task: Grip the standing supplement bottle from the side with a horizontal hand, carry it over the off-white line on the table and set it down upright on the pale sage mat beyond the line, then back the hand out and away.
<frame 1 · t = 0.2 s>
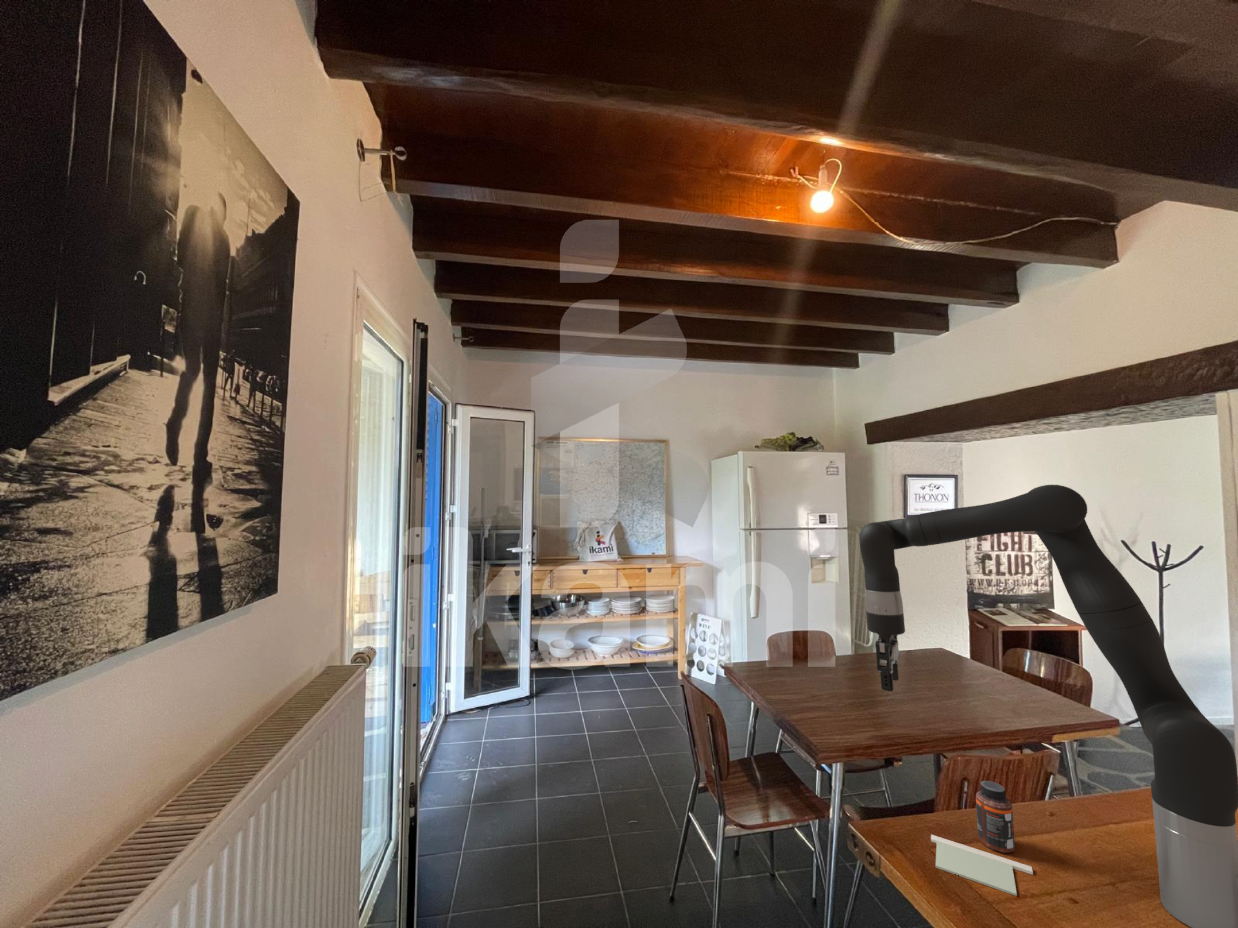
hand: (890, 684, 108), 29 cm above the table, tool pointing down, fingers open, 8 cm apart
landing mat: (980, 864, 93), on the table
supplement bottle: (996, 845, 98), on the table
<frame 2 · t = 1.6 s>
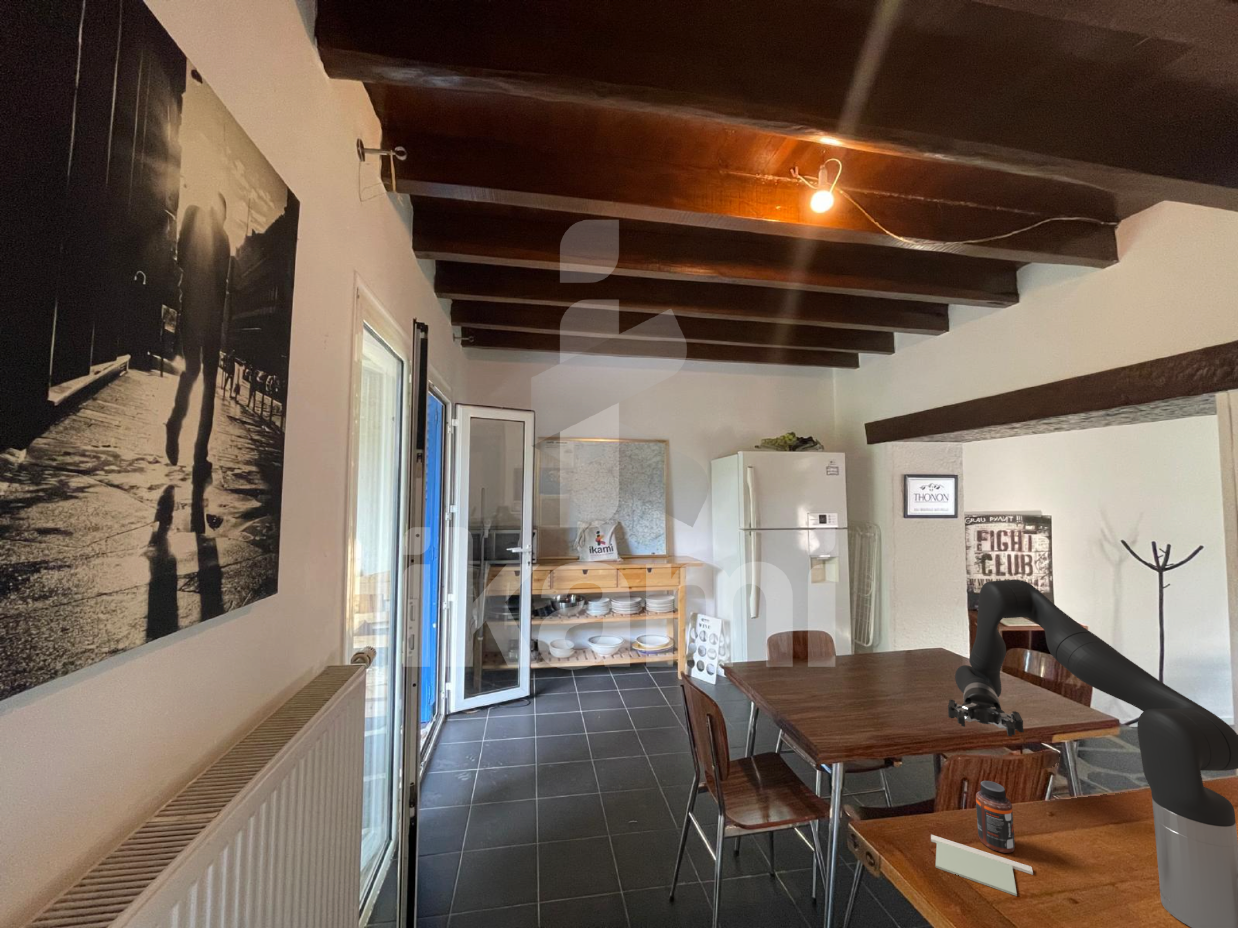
hand: (986, 726, 111), 18 cm above the table, tool horizontal, fingers open, 8 cm apart
nothing on the table moved.
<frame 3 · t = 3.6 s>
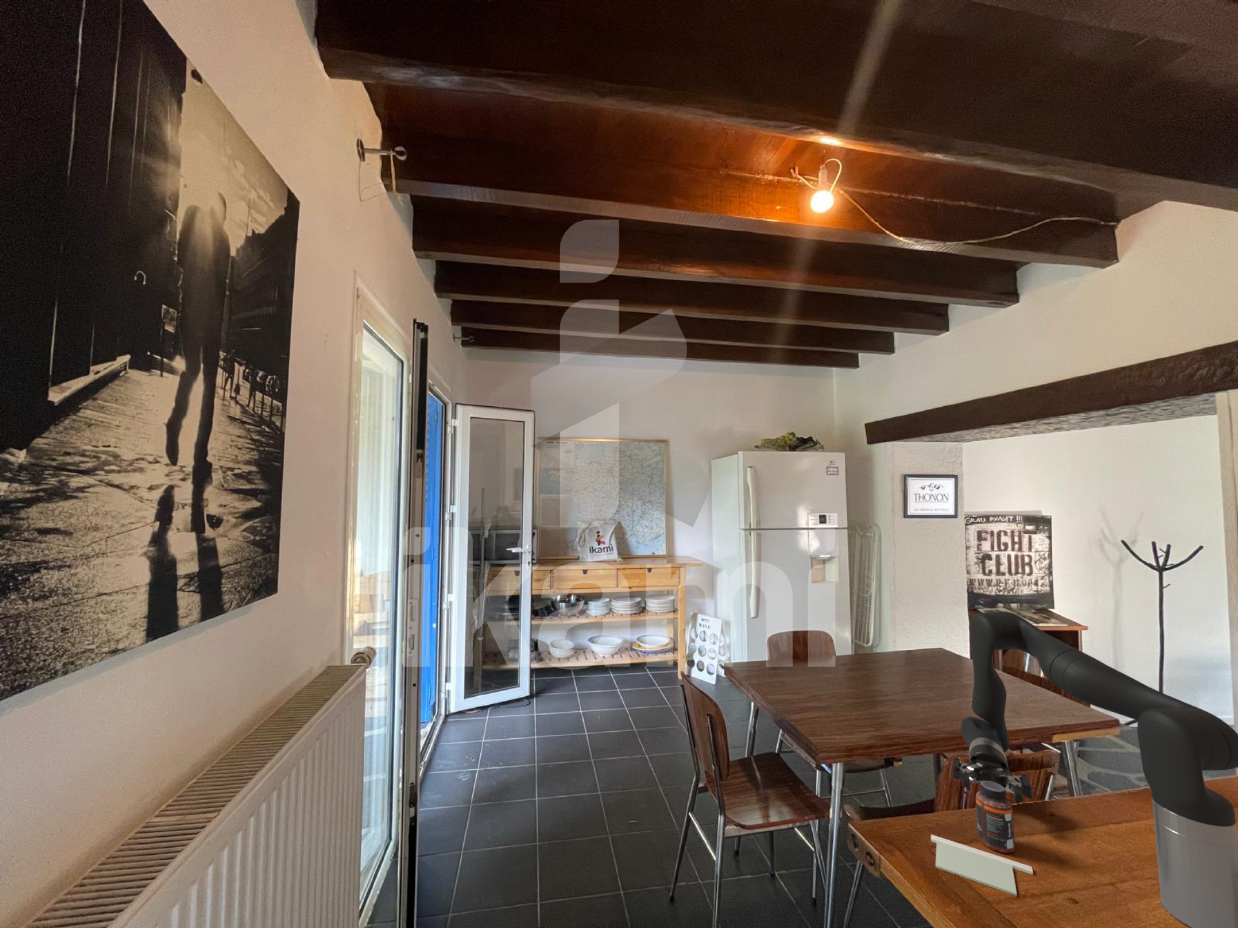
hand: (992, 792, 105), 6 cm above the table, tool horizontal, fingers open, 8 cm apart
nothing on the table moved.
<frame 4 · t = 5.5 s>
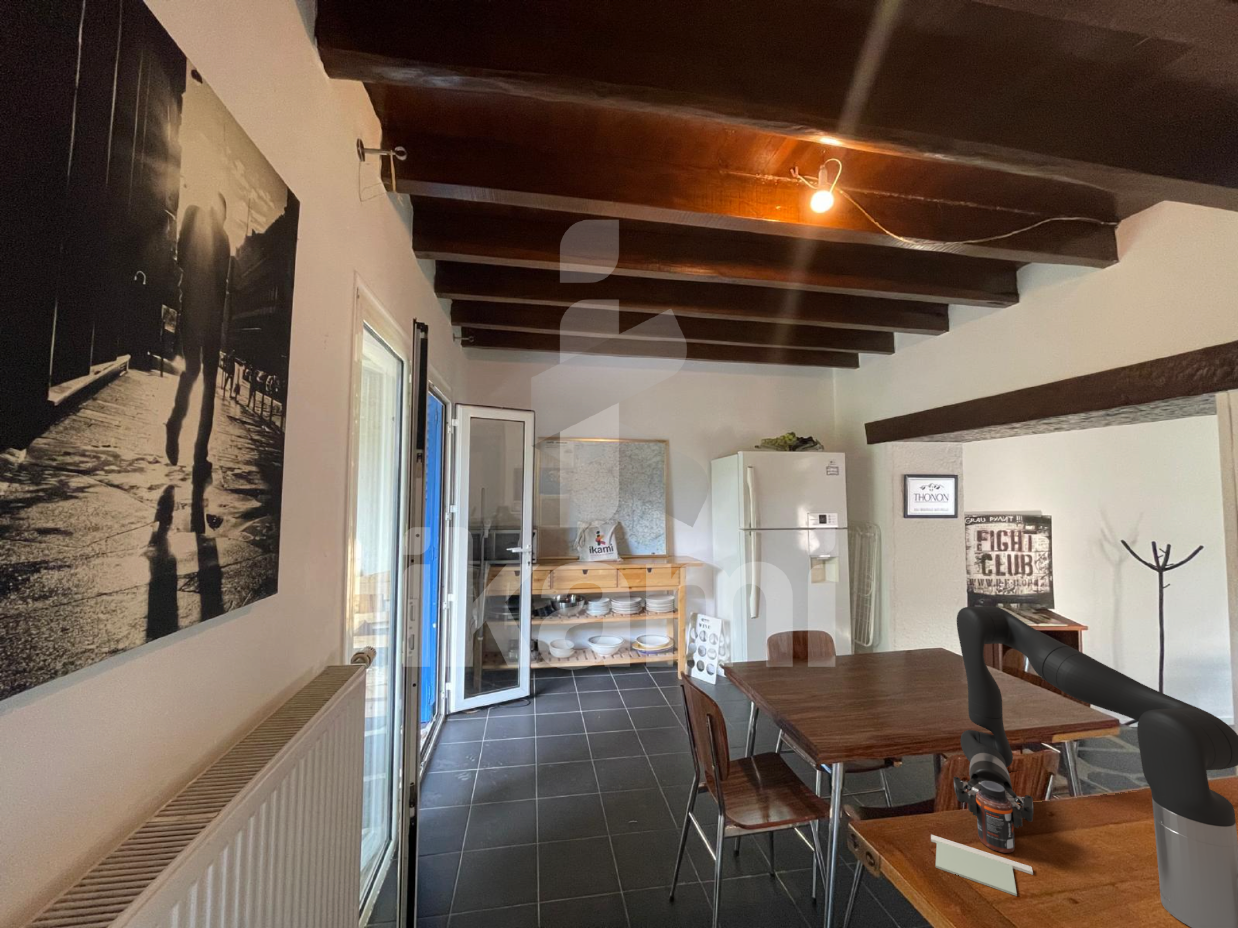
hand: (995, 816, 97), 7 cm above the table, tool horizontal, fingers closed on supplement bottle, 6 cm apart
supplement bottle: (996, 845, 98), on the table, touching gripper
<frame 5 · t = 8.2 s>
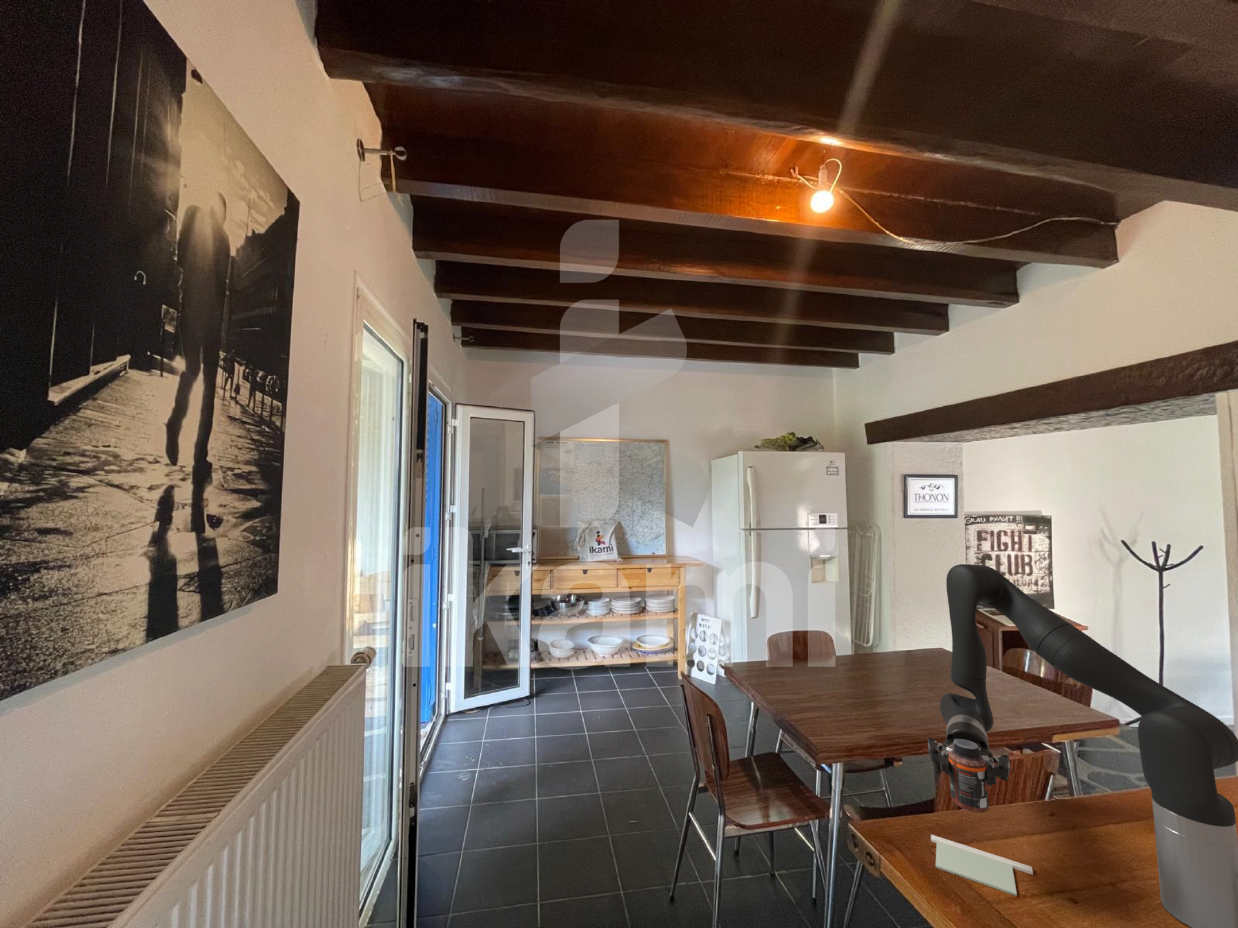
hand: (967, 774, 92), 18 cm above the table, tool horizontal, fingers closed on supplement bottle, 6 cm apart
supplement bottle: (969, 805, 93), point 11 cm above the table, touching gripper
when the fingers open (8 cm above the table, at t = 10.6 s): supplement bottle stays where it is, resting on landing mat.
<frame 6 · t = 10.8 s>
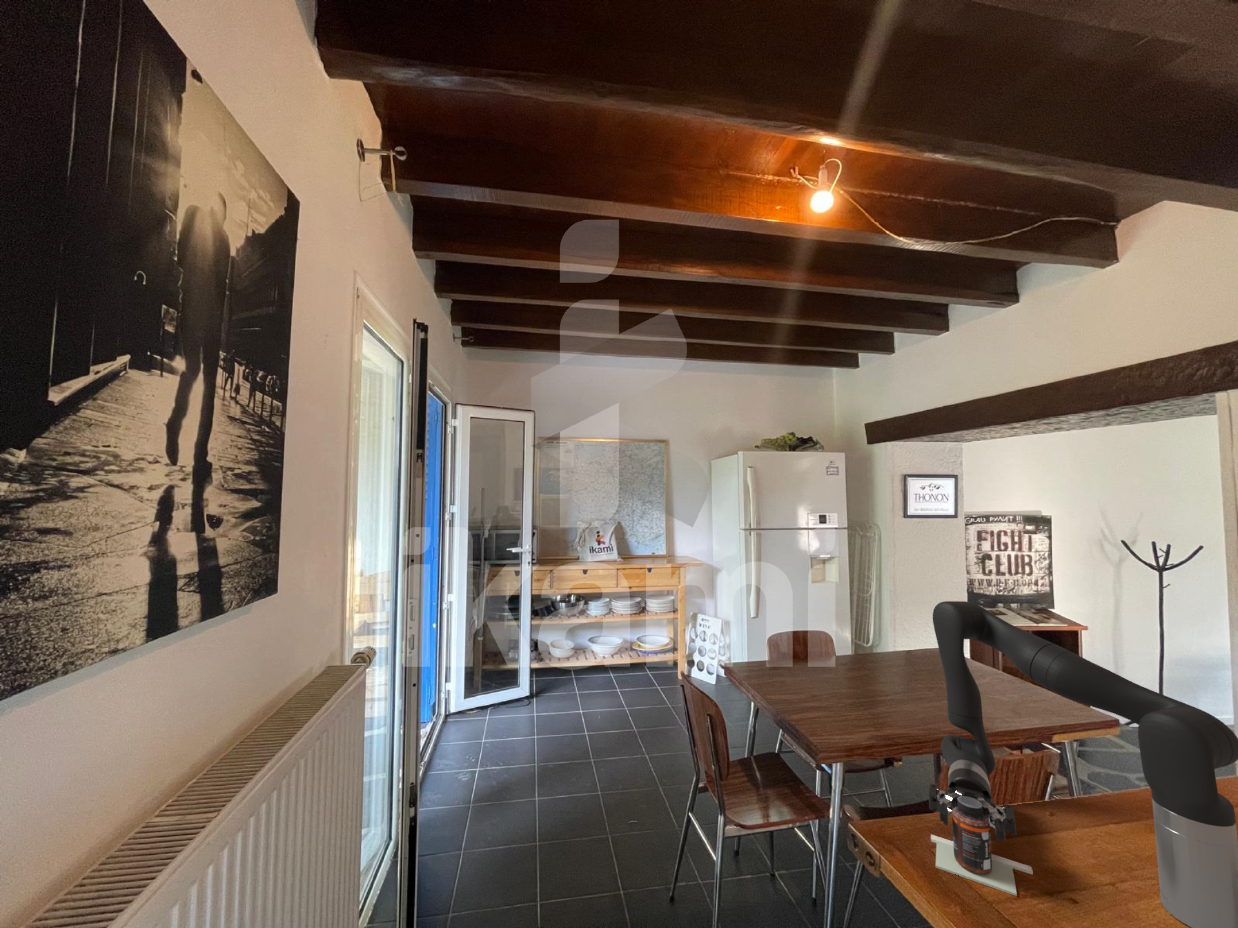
hand: (971, 827, 91), 8 cm above the table, tool horizontal, fingers open, 7 cm apart
supplement bottle: (973, 865, 92), resting on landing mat
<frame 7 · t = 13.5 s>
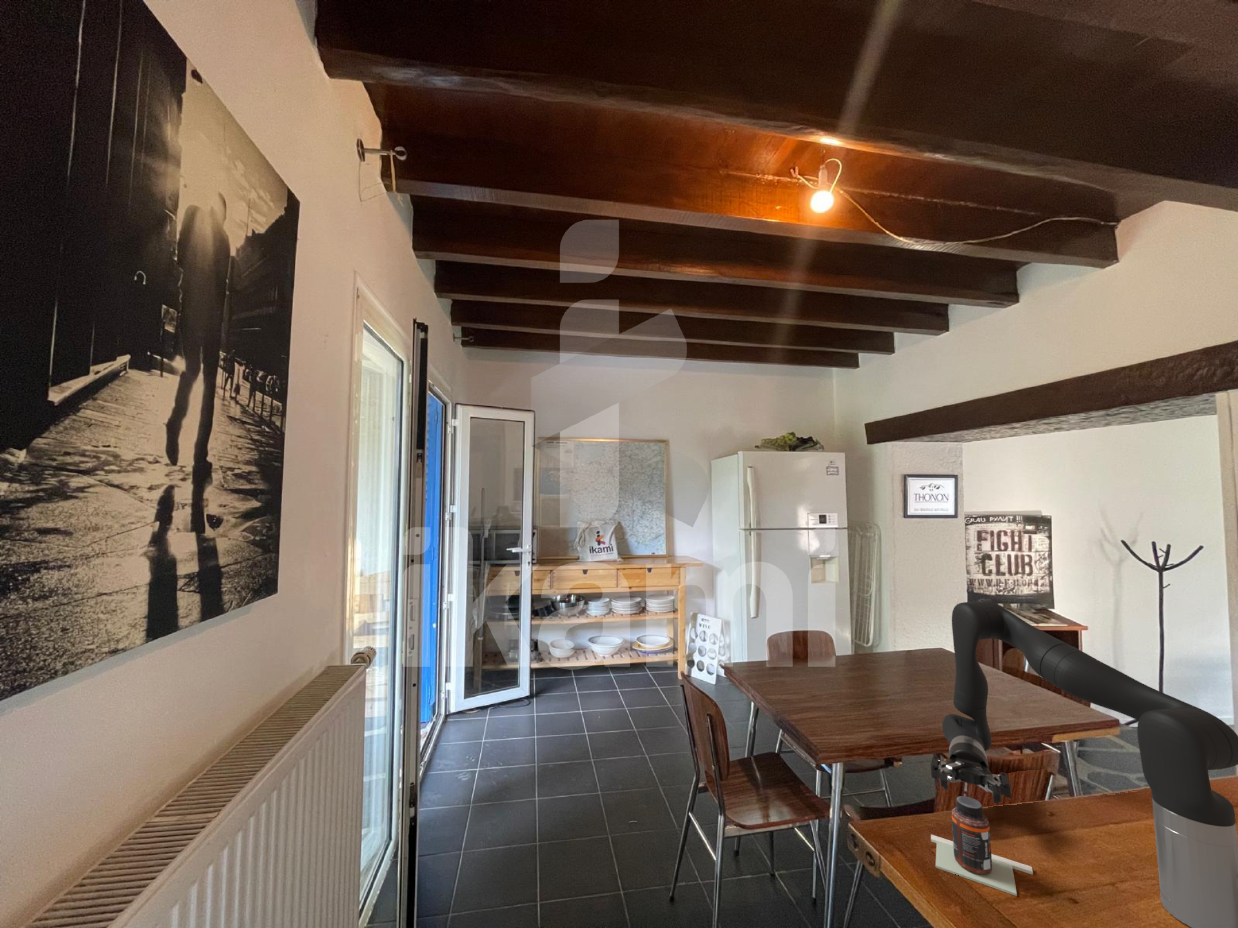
hand: (970, 791, 102), 9 cm above the table, tool horizontal, fingers open, 8 cm apart
nothing on the table moved.
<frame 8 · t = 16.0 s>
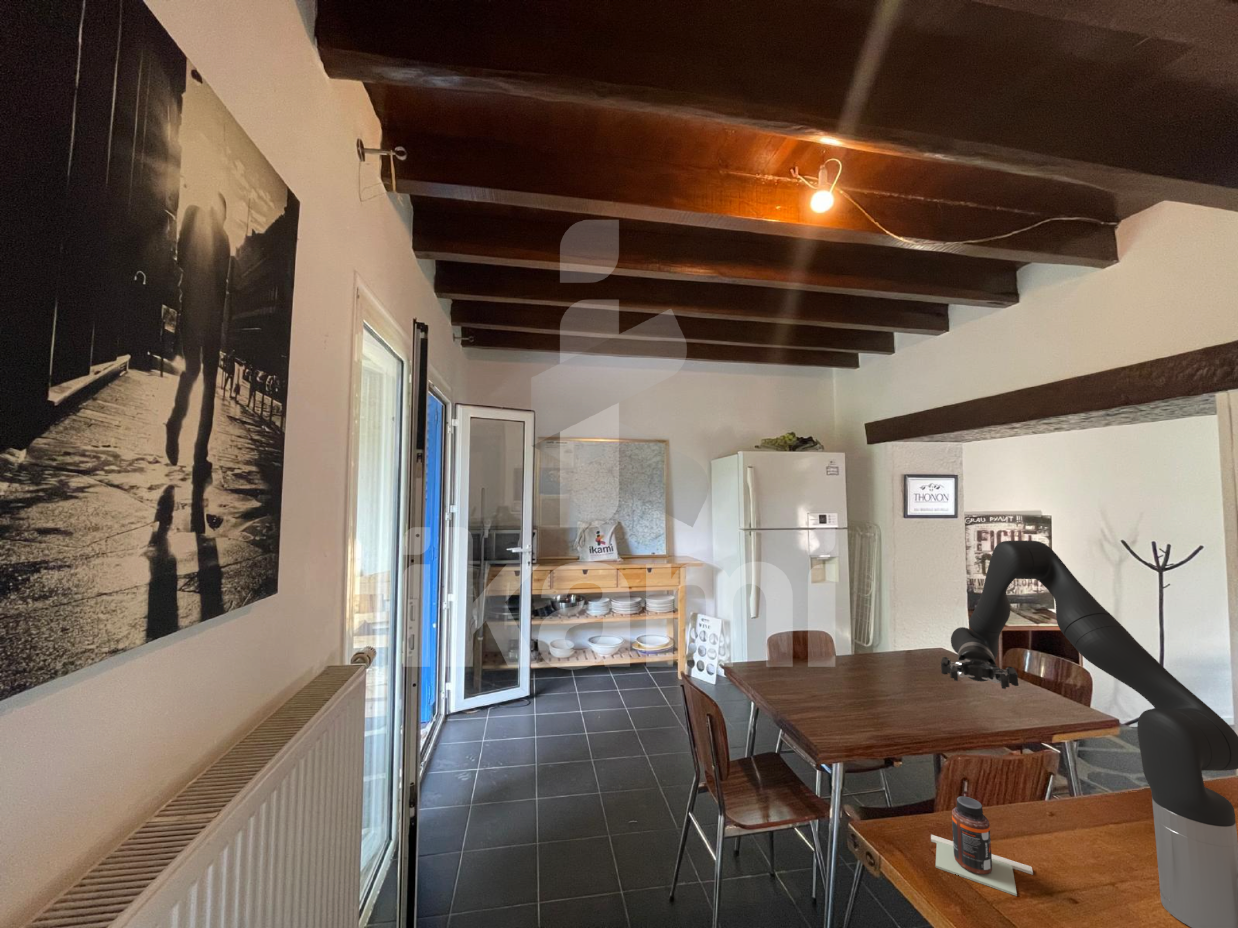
hand: (979, 680, 107), 30 cm above the table, tool horizontal, fingers open, 8 cm apart
nothing on the table moved.
at the end: supplement bottle inside the target area (1.0 cm from its centre), resting on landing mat; supplement bottle tilted 0°; the gripper is holding nothing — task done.
